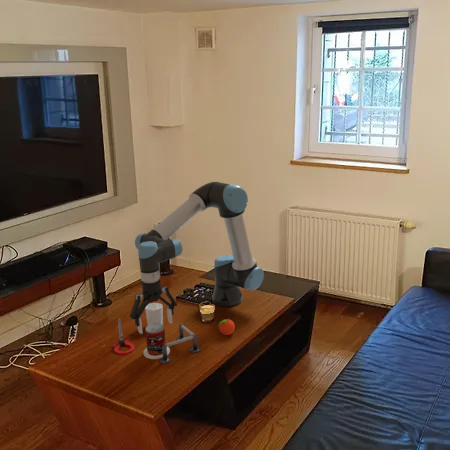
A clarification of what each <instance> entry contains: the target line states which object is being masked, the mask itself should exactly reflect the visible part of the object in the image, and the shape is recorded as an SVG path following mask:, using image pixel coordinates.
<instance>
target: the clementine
mask: <svg viewBox="0 0 450 450" xmlns="http://www.w3.org/2000/svg"><path fill="white" fill-rule="evenodd" d="M217 327H218V330H219V331H220V333H221V334H222V335H225V336H229V335H232V334H233V333H234V331H235V330H236V329H235V328H236V326H235V323H234V321H233V320H231V319H230V318H226V319H223V320H221V321H220V322H219V323H218V325H217Z"/></svg>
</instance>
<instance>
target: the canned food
mask: <svg viewBox="0 0 450 450" xmlns="http://www.w3.org/2000/svg"><path fill="white" fill-rule="evenodd" d="M144 328H145V331H144V332H145V339H146V348H147V351H148V354H150V355H153V356H157V355H161V354H163V352H162V345H163V344H166V334H165V333H166V331H165V325H164V323H163V324H160V323H154V324H150V325H148V324H147V325H146V327H144Z"/></svg>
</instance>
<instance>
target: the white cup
mask: <svg viewBox="0 0 450 450" xmlns="http://www.w3.org/2000/svg"><path fill="white" fill-rule="evenodd" d="M144 311H145V316H146V322H147V326H148V325H150V324H154V323H160V324H163V325H164V321H163V320H164V314H163V313H164V309H163V303H162V304H161V303H160V302H152V303H150V302H149V304H148V305H147V306H146V308H145V309H144Z"/></svg>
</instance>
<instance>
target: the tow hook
mask: <svg viewBox="0 0 450 450" xmlns="http://www.w3.org/2000/svg"><path fill="white" fill-rule="evenodd" d="M117 325H118V326H117V327H118V333H119V335H118V340H117V341H118V342H116V343H113V347H114V350H113V351H114V352H115V354H117V355H123V356H124V355H128V354H131V353H132V352H134V350H135V345H134V344H133V343H132V342H130V340H129V339H128V340H125V339H124V335H123V330H122V329H123V328H122V323H121V318H118V323H117ZM122 346H126V347H129V348H130V349H128V350H124V351H123V350H119V349H120V348H121V347H122Z"/></svg>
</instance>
